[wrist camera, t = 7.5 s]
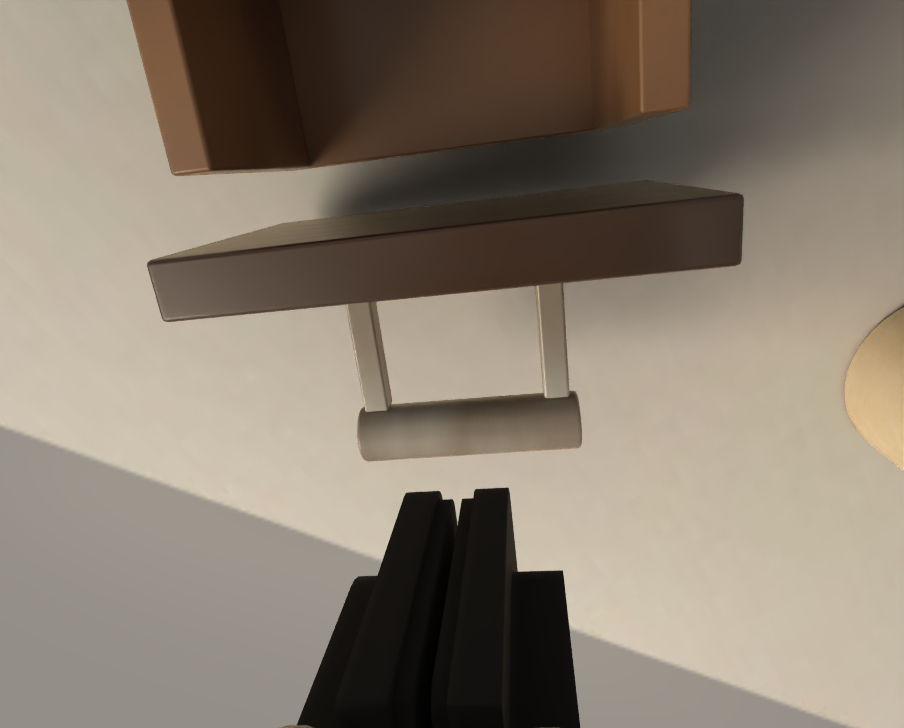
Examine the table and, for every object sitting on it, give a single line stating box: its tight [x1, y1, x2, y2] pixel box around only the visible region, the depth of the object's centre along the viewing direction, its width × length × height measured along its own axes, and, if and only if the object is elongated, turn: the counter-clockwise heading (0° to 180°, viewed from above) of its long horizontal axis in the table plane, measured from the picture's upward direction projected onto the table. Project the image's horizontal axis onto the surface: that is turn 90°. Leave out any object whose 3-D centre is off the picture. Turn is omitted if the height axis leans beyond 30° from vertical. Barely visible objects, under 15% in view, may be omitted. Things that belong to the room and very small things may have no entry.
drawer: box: [127, 0, 744, 461], centre depth 12 cm, size 18×11×7 cm, turn 7°
